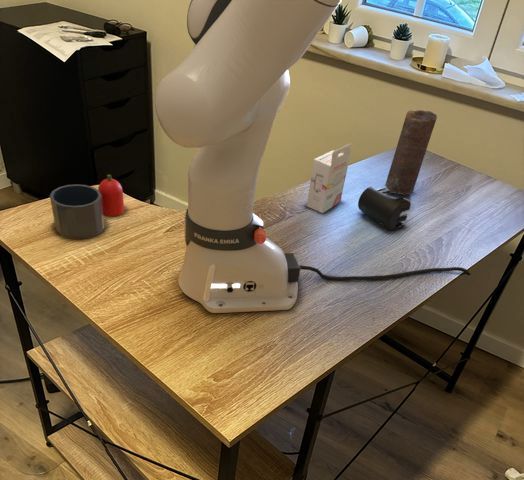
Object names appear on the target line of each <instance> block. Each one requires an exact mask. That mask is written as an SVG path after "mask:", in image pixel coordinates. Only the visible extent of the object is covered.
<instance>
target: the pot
mask: <svg viewBox="0 0 524 480" xmlns="http://www.w3.org/2000/svg"><path fill="white" fill-rule="evenodd" d="M49 200H50V206H51V211H52V216H53V222H54V227H55V231H56V232H57V234H59V235H60V236H62V237H65V238H68V239H74V240H84V239H89V238H90V239H91V238H93V237H96V236H98V235H100V234H101V233H102V232H103V231H104V230H105V215H104V214H103V205H102V195H101V193H100V191H99V190H98V189H97V188H96V187H94V186H90V185H87V184H80V183H79V184H78V183H75V184H66V185H63V186H59V187H57V188H55V189H53V190H52V191H51V193H49Z"/></svg>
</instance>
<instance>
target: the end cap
mask: <svg viewBox="0 0 524 480" xmlns="http://www.w3.org/2000/svg"><path fill="white" fill-rule="evenodd" d="M392 194H393V193H392V191H390V190H388V189H387V187H386V186H383V187H379V188H374V187H372V186H368V187H367V188H365V189H364V190H363V191H362V193H361V194H360V196H359V198H358V201H357V207H358V210H360V212H361V213H362V214H364V215H365V216H367V217H368V218H370V219H372V220H373V221H375V222H377V223H378V224H379V225H381V226H383V227H384V228H386V229H387V230H389V231H396V230H398V229H401V228H403V227H404V225H405V224H404V223H403V222H405V221H407V218H408V214H403V213H404V212H407V211H410V209H411V206H412V203H411V202H410V201H409V200H408V199H406V198H404V197H403V196H400V197H396V198H395V197H394V198H393V197H390V196H388V195H392Z"/></svg>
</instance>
